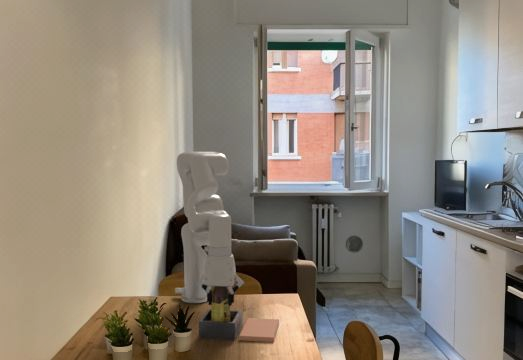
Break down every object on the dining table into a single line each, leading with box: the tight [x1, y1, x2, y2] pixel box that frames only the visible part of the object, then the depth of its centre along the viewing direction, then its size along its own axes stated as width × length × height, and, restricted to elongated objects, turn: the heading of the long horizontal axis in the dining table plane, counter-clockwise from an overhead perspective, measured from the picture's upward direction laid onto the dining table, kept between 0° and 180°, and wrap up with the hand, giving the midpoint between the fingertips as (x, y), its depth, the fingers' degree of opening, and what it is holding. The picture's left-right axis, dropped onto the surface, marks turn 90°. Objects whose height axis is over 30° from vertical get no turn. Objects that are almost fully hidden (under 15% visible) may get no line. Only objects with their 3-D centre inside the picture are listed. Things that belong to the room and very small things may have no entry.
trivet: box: [239, 317, 280, 343], centre depth 160 cm, size 11×16×2 cm
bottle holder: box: [198, 308, 243, 341], centre depth 160 cm, size 12×12×6 cm
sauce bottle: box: [210, 286, 231, 322], centre depth 160 cm, size 6×6×20 cm
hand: (220, 303), depth 160 cm, fingers closed on sauce bottle, 6 cm apart
